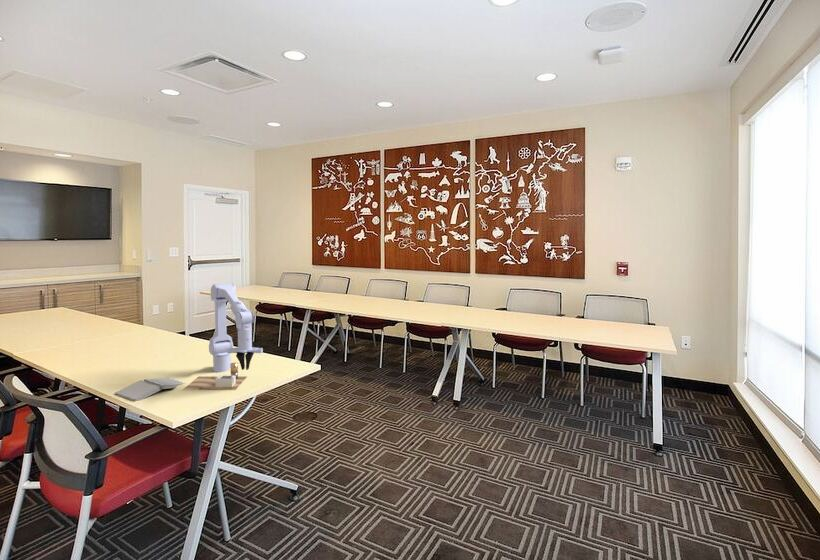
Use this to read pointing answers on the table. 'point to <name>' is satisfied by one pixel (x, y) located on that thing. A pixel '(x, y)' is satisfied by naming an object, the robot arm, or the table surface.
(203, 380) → the subfloor
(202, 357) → the table surface
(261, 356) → the table surface
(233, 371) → the copper and grey cylinder
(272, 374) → the table surface
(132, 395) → the grey bent flat piece
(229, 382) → the white open box
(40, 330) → the table surface
